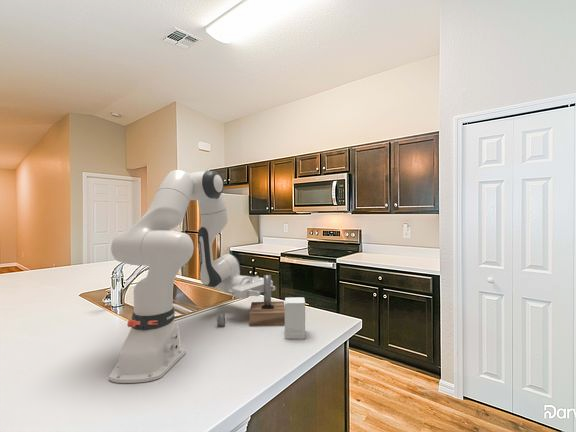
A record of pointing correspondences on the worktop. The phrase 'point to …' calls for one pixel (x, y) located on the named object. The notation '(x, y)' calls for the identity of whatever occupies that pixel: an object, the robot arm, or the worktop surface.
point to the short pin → (221, 320)
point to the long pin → (267, 291)
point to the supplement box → (295, 318)
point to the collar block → (267, 314)
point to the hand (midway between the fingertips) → (267, 291)
